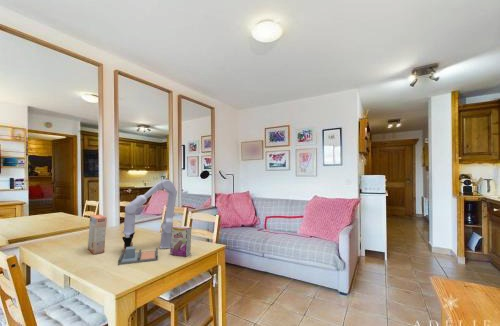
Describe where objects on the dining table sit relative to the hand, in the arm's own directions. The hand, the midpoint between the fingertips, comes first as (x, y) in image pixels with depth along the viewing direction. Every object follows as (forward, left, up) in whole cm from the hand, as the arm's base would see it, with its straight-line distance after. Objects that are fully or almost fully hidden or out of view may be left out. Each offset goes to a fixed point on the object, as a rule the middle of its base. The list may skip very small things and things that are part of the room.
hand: (128, 246), depth 135 cm
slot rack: (-7, +13, -3) cm, 15 cm away
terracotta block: (0, 0, -3) cm, 3 cm away
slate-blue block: (-2, +13, -2) cm, 13 cm away
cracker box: (+18, -8, -3) cm, 20 cm away
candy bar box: (-29, +15, -3) cm, 33 cm away
